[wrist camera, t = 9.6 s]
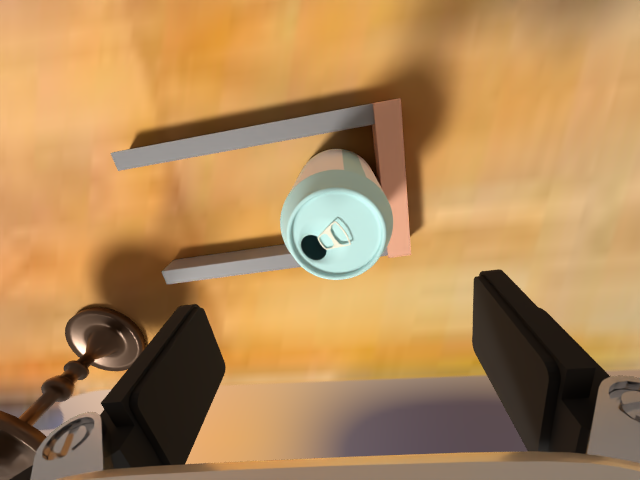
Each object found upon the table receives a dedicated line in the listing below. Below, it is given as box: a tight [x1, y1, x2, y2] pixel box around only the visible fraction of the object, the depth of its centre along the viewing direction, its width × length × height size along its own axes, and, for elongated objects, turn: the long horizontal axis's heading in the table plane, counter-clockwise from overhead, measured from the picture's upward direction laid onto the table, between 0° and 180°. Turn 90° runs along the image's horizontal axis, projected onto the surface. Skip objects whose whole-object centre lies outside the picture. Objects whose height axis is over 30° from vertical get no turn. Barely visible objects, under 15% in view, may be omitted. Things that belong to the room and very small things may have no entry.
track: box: [111, 98, 411, 284], centre depth 28 cm, size 24×13×3 cm, turn 100°
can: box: [280, 149, 393, 280], centre depth 23 cm, size 7×7×12 cm
